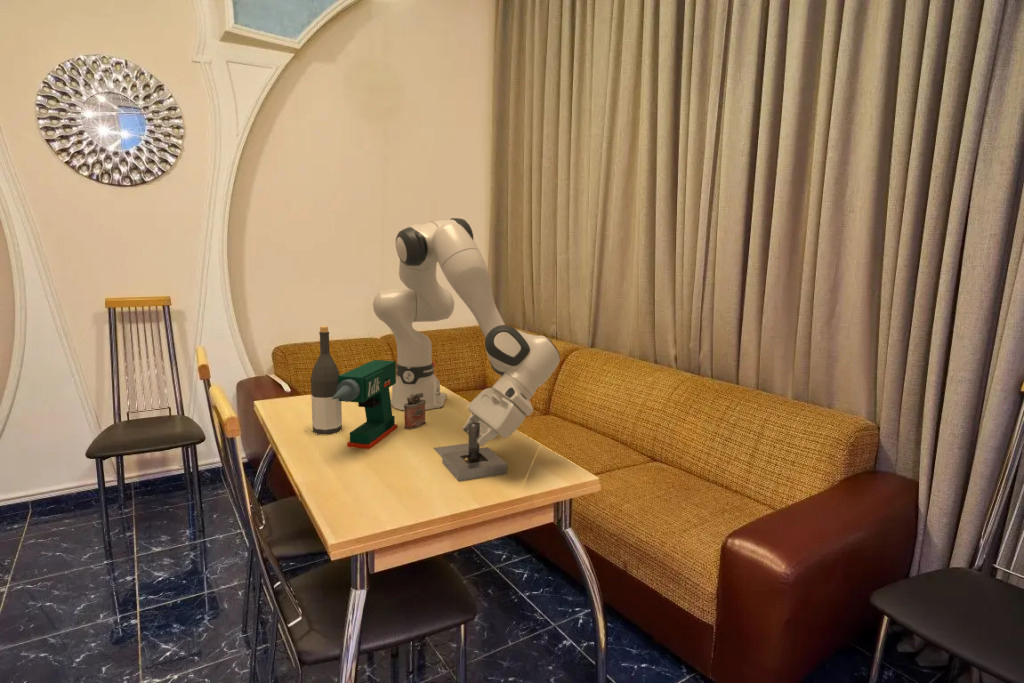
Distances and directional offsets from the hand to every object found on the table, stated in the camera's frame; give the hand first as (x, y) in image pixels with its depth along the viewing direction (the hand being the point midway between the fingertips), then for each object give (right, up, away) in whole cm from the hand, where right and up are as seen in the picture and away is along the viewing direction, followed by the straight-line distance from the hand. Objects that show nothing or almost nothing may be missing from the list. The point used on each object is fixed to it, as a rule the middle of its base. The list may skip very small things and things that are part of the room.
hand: (471, 437), depth 140 cm
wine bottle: (-43, -3, +29) cm, 52 cm away
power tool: (-30, -5, +18) cm, 35 cm away
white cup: (+2, -4, +25) cm, 26 cm away
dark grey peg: (0, -8, +2) cm, 8 cm away
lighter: (-19, -3, +33) cm, 38 cm away
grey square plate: (-5, -6, +13) cm, 15 cm away
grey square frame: (0, -8, +2) cm, 8 cm away
